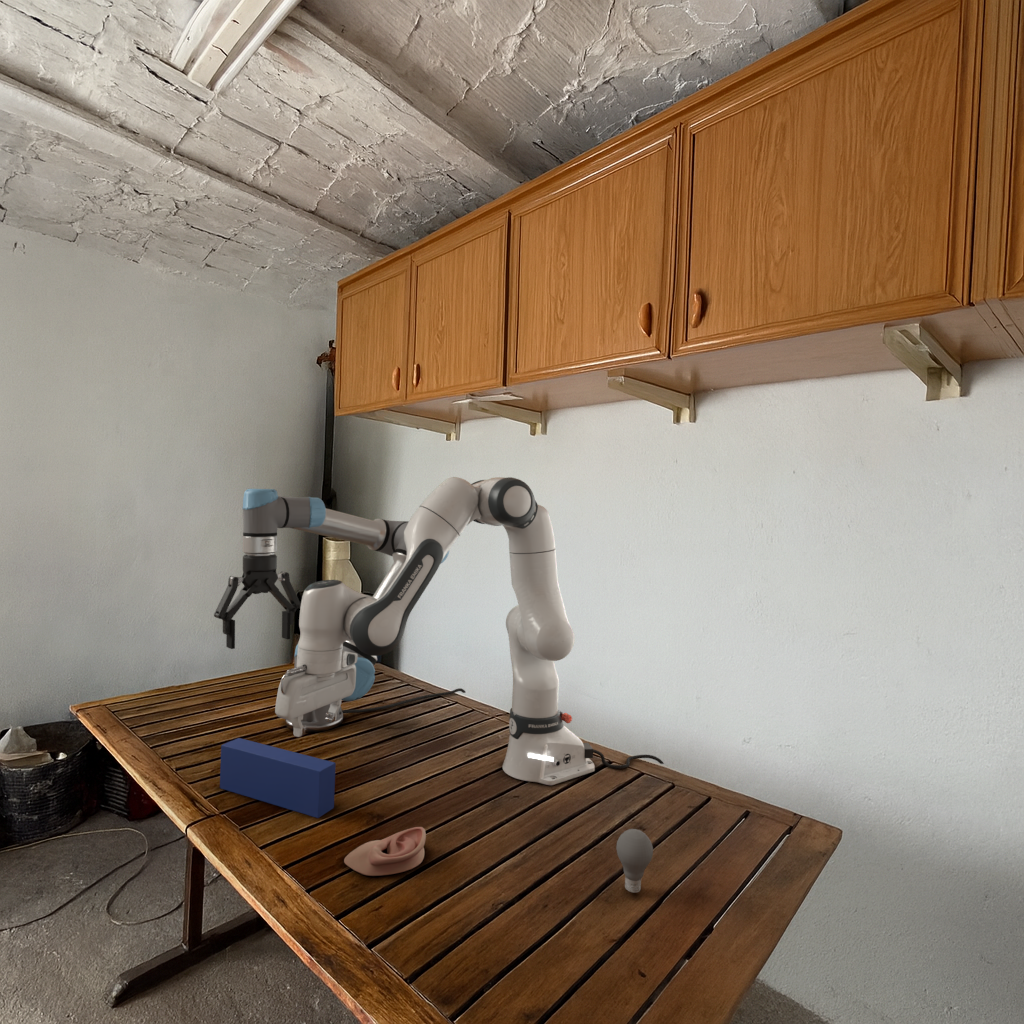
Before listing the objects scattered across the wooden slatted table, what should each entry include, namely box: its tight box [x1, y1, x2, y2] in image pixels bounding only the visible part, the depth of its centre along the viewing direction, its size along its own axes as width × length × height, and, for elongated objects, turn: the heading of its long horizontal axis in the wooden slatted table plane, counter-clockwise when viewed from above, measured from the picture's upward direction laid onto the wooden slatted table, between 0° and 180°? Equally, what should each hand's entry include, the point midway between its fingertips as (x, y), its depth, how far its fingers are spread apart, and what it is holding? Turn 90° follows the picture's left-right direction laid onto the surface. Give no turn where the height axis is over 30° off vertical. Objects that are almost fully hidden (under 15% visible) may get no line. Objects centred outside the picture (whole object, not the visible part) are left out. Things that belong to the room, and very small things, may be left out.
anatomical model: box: [343, 826, 427, 877], centre depth 112 cm, size 13×4×12 cm
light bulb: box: [615, 828, 654, 894], centre depth 106 cm, size 6×6×10 cm
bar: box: [219, 737, 337, 819], centre depth 132 cm, size 27×5×9 cm, turn 66°
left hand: (259, 643), depth 150 cm, fingers open, 13 cm apart
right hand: (315, 728), depth 128 cm, fingers open, 8 cm apart
